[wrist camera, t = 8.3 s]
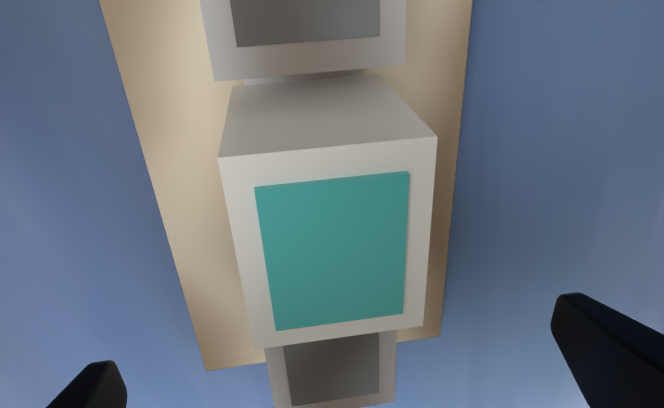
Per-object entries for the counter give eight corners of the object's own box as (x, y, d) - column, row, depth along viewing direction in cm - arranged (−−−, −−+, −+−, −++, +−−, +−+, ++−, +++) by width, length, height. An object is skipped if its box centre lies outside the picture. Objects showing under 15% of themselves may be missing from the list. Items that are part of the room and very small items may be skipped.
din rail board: (473, -222, 13) (591, -319, 9) (430, 315, 24) (471, 404, 20) (56, -212, 12) (-76, -318, 7) (209, 347, 23) (195, 450, 18)
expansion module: (378, 74, 15) (440, 139, 10) (377, 220, 18) (425, 330, 13) (232, 86, 15) (216, 161, 10) (255, 234, 18) (253, 355, 12)
